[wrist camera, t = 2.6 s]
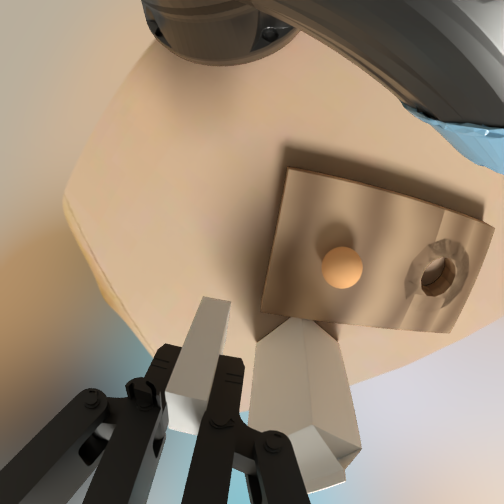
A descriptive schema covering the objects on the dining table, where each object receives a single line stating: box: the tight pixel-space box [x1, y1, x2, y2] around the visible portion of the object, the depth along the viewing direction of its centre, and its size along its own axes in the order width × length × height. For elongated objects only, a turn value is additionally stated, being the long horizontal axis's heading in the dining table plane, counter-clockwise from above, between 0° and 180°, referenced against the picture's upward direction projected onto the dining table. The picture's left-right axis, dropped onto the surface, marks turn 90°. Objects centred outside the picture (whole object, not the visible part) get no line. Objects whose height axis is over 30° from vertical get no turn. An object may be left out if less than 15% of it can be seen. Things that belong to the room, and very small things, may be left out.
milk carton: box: [248, 317, 362, 494], centre depth 24 cm, size 7×7×19 cm
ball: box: [322, 247, 363, 289], centre depth 24 cm, size 4×4×4 cm
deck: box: [260, 166, 495, 333], centre depth 27 cm, size 24×14×2 cm, turn 81°
